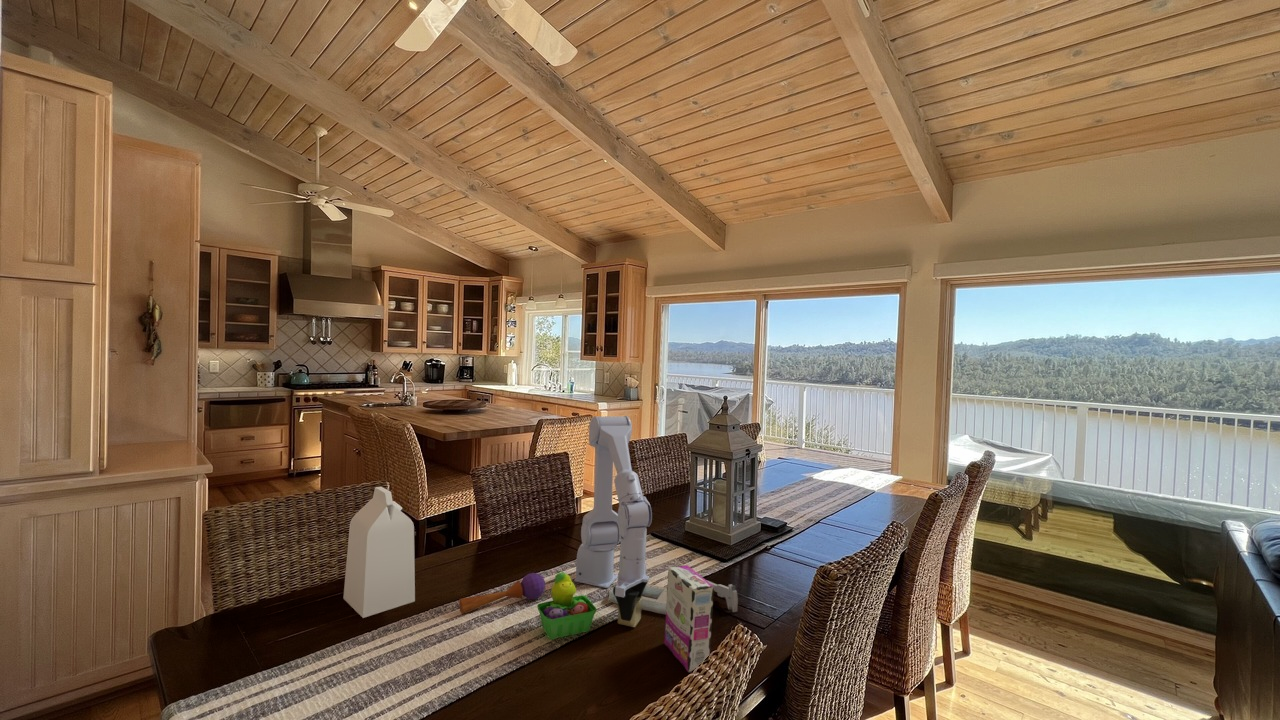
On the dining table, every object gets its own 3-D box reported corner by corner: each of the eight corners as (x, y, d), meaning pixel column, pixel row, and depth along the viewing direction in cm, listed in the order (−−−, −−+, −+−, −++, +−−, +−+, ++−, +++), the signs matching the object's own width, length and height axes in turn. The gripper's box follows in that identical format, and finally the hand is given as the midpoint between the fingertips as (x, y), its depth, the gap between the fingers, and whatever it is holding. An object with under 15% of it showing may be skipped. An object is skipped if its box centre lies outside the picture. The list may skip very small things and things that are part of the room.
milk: (343, 598, 125) (346, 488, 125) (393, 583, 134) (397, 480, 133) (362, 618, 117) (366, 500, 116) (414, 601, 126) (418, 491, 125)
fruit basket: (545, 644, 110) (548, 590, 110) (533, 623, 118) (535, 573, 118) (597, 633, 116) (599, 581, 115) (582, 614, 123) (584, 565, 123)
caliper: (737, 613, 128) (738, 587, 127) (733, 614, 127) (735, 588, 127) (691, 578, 146) (692, 555, 146) (688, 578, 145) (689, 556, 145)
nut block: (617, 623, 119) (618, 601, 119) (624, 615, 123) (625, 593, 123) (634, 627, 118) (635, 605, 118) (640, 618, 122) (641, 597, 121)
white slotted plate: (608, 601, 130) (609, 590, 130) (621, 588, 137) (621, 577, 137) (680, 618, 124) (681, 606, 124) (689, 602, 131) (689, 591, 131)
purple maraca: (456, 590, 124) (538, 568, 135) (459, 616, 124) (541, 592, 134) (462, 596, 119) (547, 572, 130) (465, 623, 118) (550, 598, 129)
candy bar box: (711, 669, 105) (715, 586, 104) (688, 674, 103) (692, 589, 102) (684, 639, 115) (687, 563, 114) (663, 643, 113) (666, 566, 112)
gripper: (638, 570, 112) (635, 634, 112) (659, 547, 125) (656, 604, 126) (607, 564, 114) (604, 627, 115) (631, 541, 128) (628, 598, 128)
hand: (629, 614), depth 120 cm, fingers closed on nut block, 4 cm apart
